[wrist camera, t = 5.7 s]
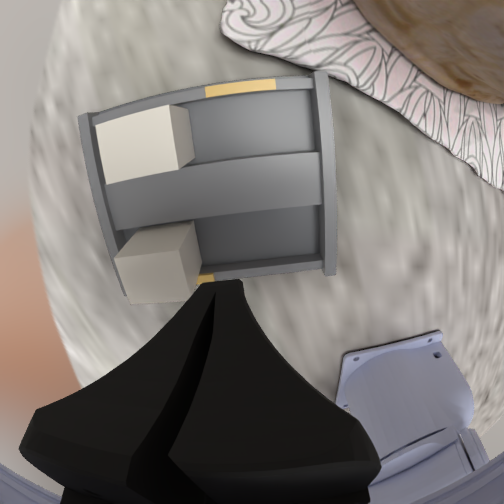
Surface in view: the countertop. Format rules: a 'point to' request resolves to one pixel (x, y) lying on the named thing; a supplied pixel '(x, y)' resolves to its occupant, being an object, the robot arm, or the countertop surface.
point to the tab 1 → (145, 143)
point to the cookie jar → (398, 60)
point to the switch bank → (235, 178)
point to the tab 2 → (160, 263)
